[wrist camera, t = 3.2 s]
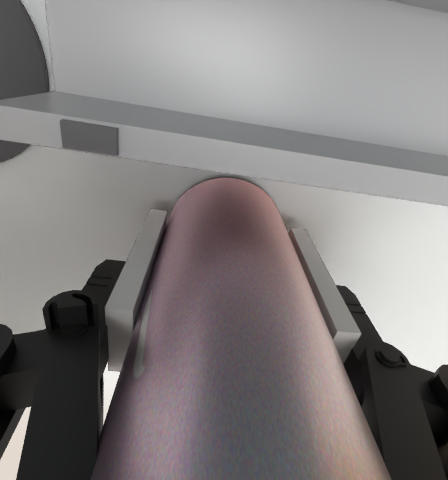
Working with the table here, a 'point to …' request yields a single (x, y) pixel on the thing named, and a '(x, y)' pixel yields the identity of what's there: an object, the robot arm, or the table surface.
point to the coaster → (19, 62)
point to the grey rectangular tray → (252, 90)
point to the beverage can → (233, 359)
